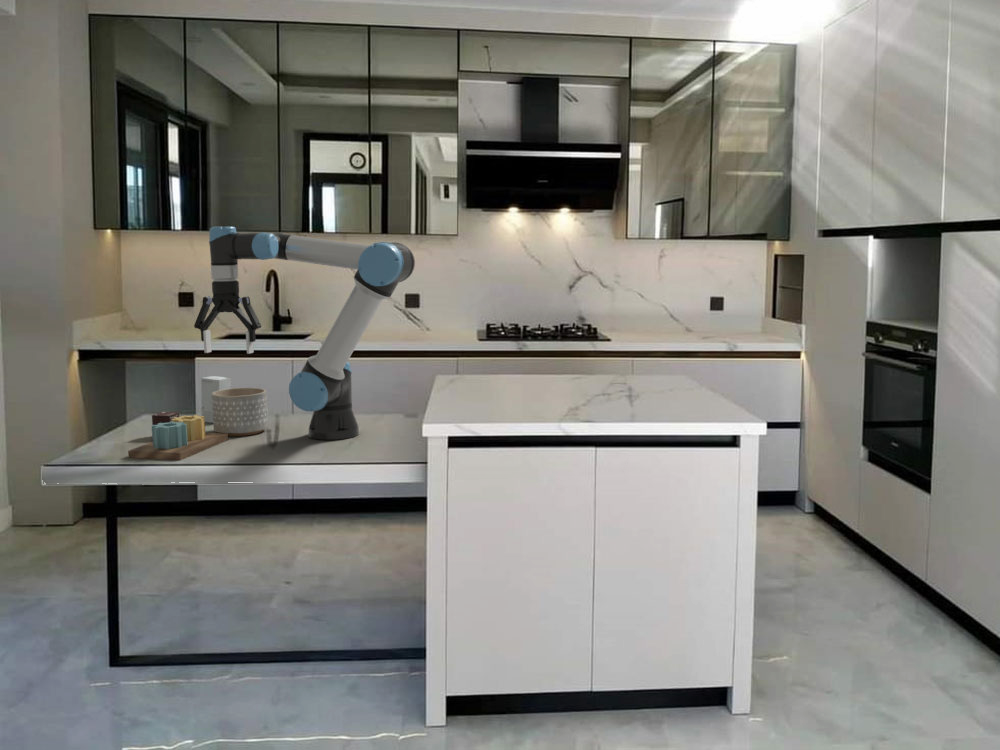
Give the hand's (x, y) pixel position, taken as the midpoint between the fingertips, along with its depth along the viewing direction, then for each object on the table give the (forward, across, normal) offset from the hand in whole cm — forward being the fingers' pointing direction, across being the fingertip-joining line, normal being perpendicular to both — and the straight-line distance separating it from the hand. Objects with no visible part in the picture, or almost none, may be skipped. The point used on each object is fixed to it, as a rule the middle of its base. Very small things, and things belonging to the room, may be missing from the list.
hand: (229, 352), depth 273 cm
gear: (+25, +11, +16) cm, 31 cm away
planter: (+27, +5, -14) cm, 31 cm away
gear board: (+27, +11, +11) cm, 31 cm away
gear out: (+25, +11, +6) cm, 28 cm away
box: (+27, +24, -3) cm, 36 cm away
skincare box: (+27, +21, -28) cm, 44 cm away
